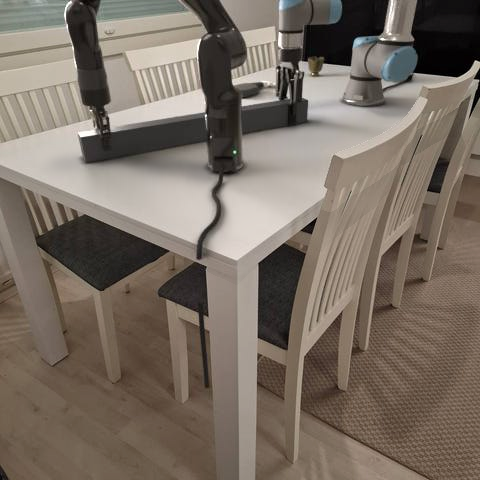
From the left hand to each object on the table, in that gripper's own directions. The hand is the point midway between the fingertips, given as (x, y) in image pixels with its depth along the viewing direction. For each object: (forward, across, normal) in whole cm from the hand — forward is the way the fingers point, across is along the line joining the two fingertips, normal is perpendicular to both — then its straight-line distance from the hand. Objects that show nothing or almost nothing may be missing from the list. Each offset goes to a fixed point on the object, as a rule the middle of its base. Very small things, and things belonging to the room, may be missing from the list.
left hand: (105, 147), depth 126 cm
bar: (+3, 0, -30) cm, 31 cm away
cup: (+3, +55, -111) cm, 124 cm away
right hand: (+2, 0, -61) cm, 61 cm away
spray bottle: (+3, +44, -71) cm, 84 cm away
